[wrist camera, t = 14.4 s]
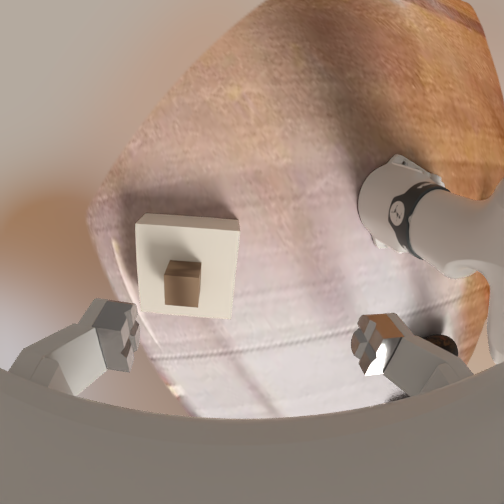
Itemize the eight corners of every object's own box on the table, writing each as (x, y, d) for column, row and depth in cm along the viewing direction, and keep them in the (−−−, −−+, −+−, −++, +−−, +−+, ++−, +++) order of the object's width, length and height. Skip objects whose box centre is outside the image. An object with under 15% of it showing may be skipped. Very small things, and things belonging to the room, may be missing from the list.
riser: (238, 219, 46) (240, 231, 41) (229, 300, 52) (230, 319, 47) (145, 213, 44) (135, 223, 39) (148, 293, 50) (140, 311, 45)
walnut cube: (201, 262, 42) (199, 278, 37) (200, 290, 44) (198, 307, 39) (169, 259, 41) (163, 274, 37) (170, 287, 43) (164, 304, 39)
